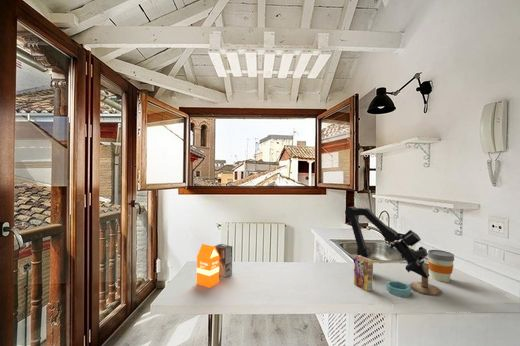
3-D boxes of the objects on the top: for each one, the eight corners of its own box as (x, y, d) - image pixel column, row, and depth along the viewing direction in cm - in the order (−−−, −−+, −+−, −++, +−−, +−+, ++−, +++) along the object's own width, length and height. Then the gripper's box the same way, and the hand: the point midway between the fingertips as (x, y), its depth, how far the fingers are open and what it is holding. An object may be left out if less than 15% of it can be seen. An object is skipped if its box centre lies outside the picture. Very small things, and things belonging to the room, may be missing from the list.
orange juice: (206, 278, 148) (206, 242, 147) (219, 282, 143) (219, 244, 143) (196, 283, 141) (196, 245, 140) (209, 287, 136) (210, 248, 136)
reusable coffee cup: (440, 274, 161) (441, 249, 161) (459, 283, 148) (460, 256, 148) (421, 275, 159) (422, 249, 158) (439, 284, 146) (440, 256, 146)
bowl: (391, 296, 131) (391, 289, 131) (384, 287, 141) (384, 280, 141) (413, 297, 130) (413, 290, 130) (404, 288, 140) (404, 281, 140)
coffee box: (232, 274, 155) (233, 246, 154) (225, 277, 149) (225, 248, 149) (220, 270, 160) (221, 243, 159) (213, 273, 154) (213, 246, 154)
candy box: (372, 289, 138) (373, 260, 138) (366, 291, 136) (367, 261, 136) (359, 282, 146) (360, 254, 146) (353, 284, 144) (354, 255, 144)
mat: (416, 295, 132) (416, 294, 132) (403, 282, 147) (403, 282, 147) (448, 297, 131) (448, 296, 131) (432, 284, 146) (432, 283, 146)
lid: (417, 294, 133) (418, 267, 133) (405, 283, 146) (406, 259, 146) (445, 295, 132) (446, 269, 132) (431, 284, 145) (431, 260, 145)
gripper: (413, 246, 134) (439, 274, 127) (420, 239, 148) (444, 264, 141) (395, 258, 140) (419, 285, 133) (404, 250, 154) (426, 275, 147)
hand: (428, 277), depth 138 cm, fingers closed on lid, 3 cm apart
